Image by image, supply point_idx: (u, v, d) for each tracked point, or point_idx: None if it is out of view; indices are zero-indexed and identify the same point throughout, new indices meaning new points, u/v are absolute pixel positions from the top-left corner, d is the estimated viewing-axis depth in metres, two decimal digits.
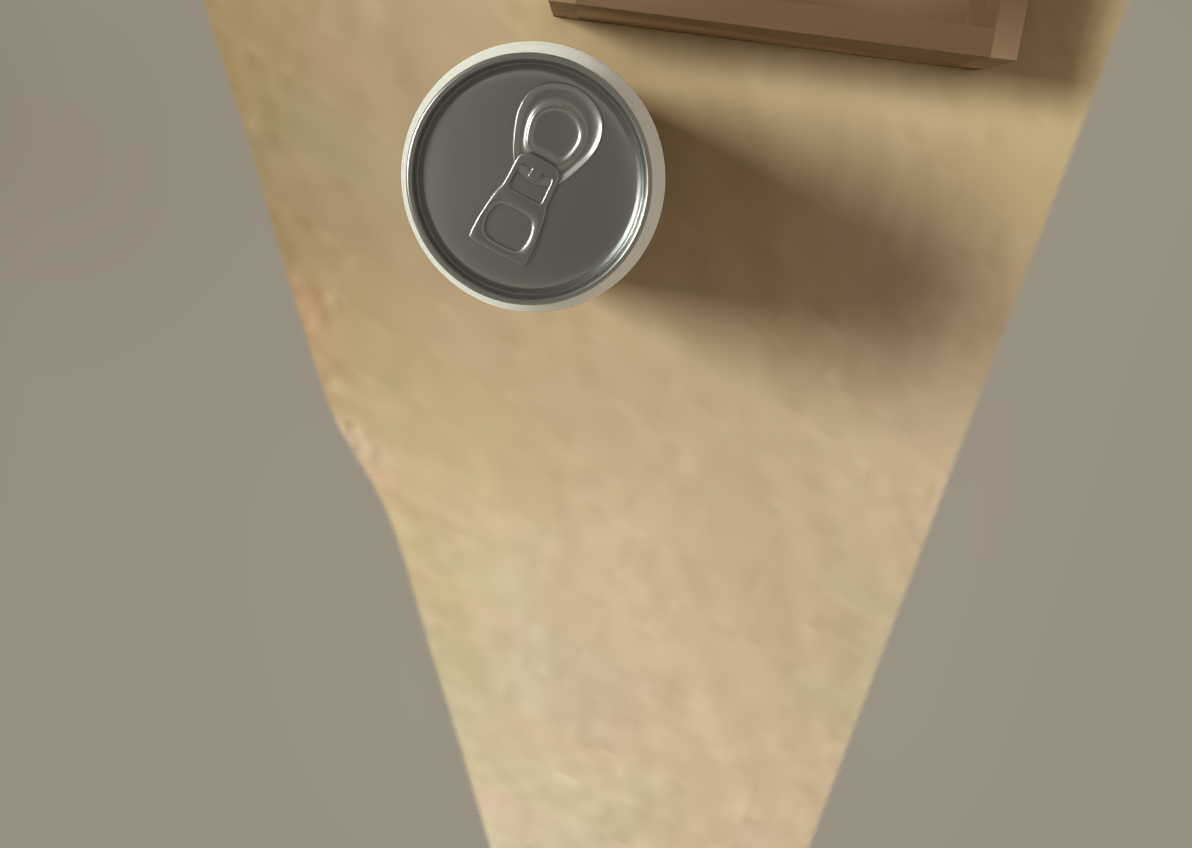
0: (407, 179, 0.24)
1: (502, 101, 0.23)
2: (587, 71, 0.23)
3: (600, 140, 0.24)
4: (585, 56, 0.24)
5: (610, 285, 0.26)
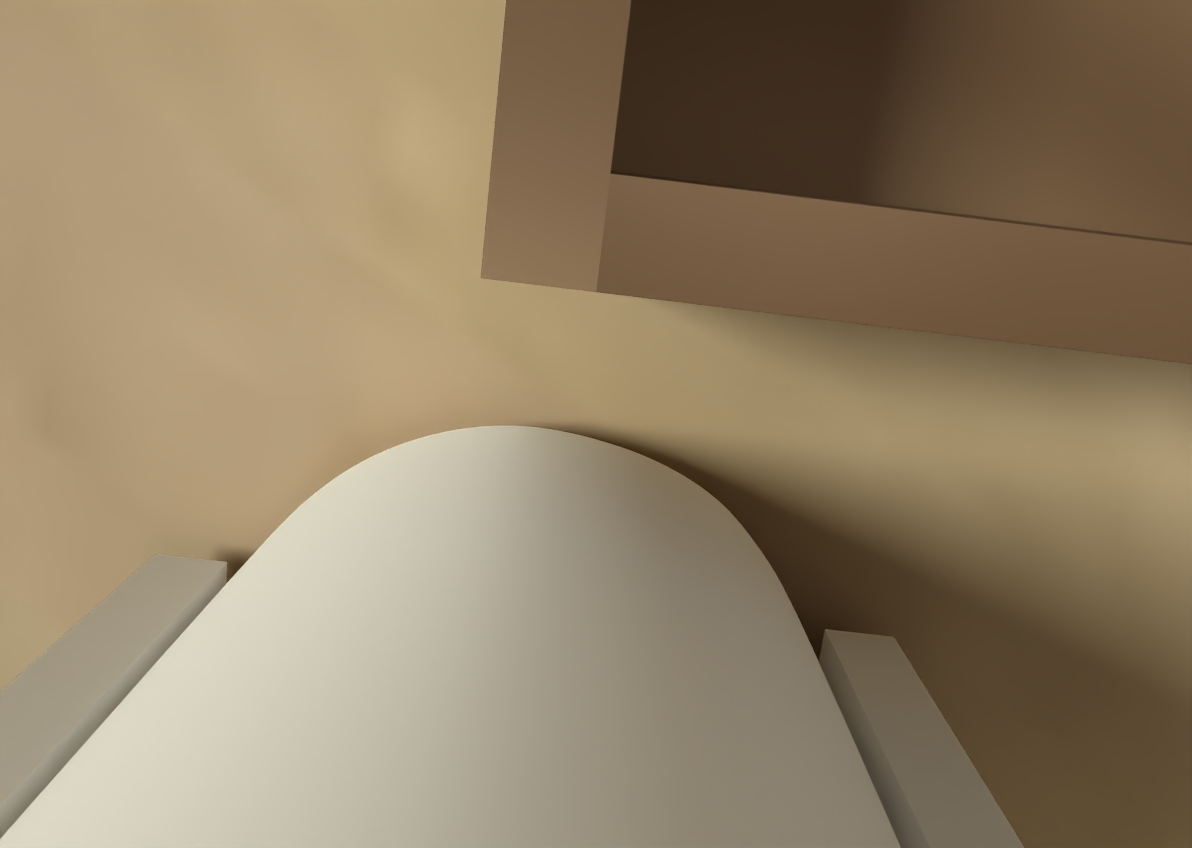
0: None
1: None
2: None
3: None
4: None
5: None
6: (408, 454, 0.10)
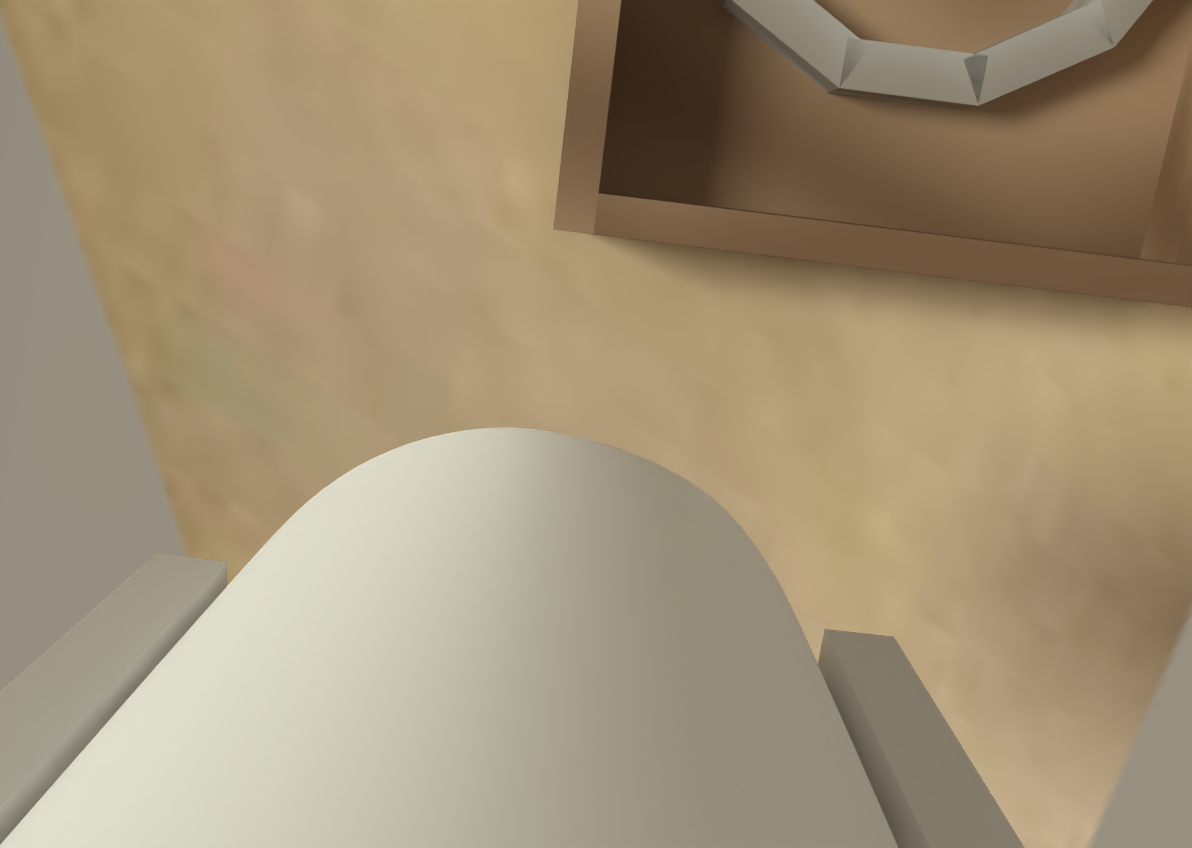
0: None
1: None
2: None
3: None
4: None
5: None
6: (408, 456, 0.10)
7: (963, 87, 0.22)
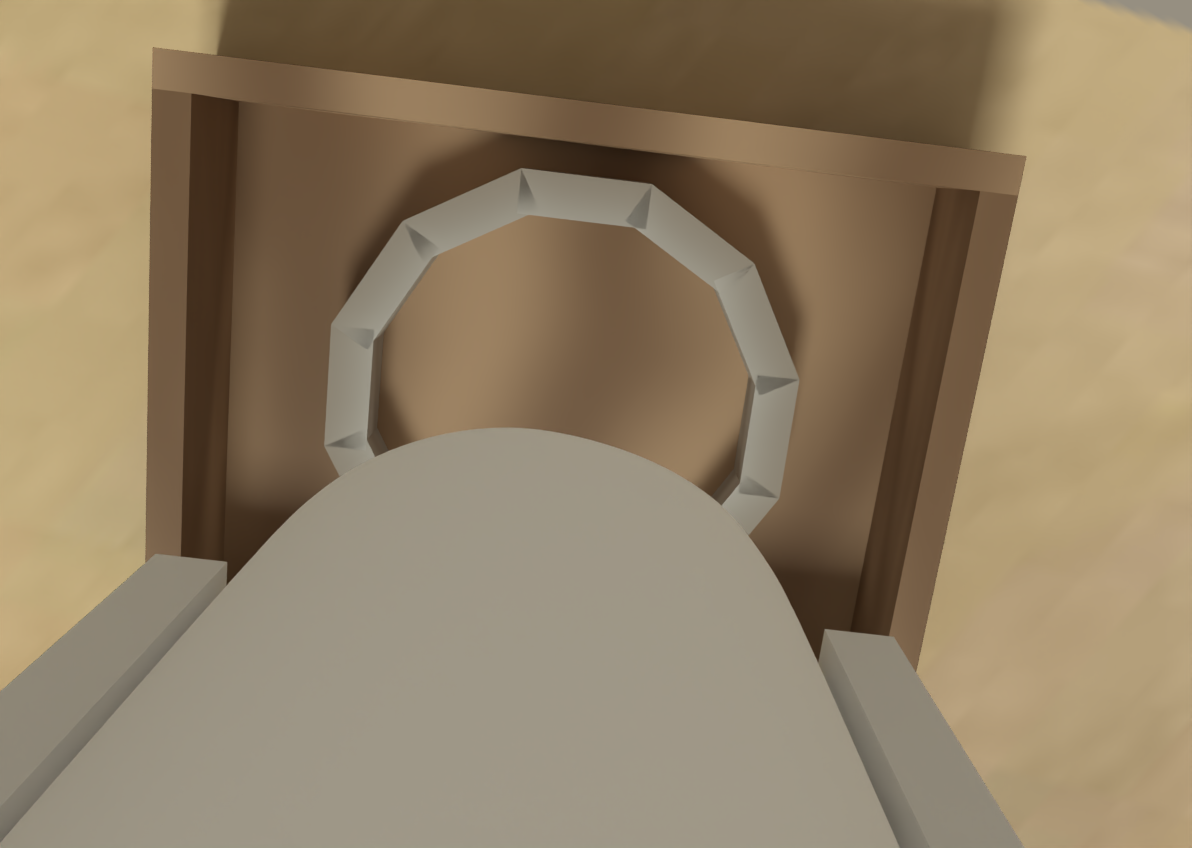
0: None
1: None
2: None
3: None
4: None
5: None
6: (408, 456, 0.10)
7: (783, 394, 0.24)
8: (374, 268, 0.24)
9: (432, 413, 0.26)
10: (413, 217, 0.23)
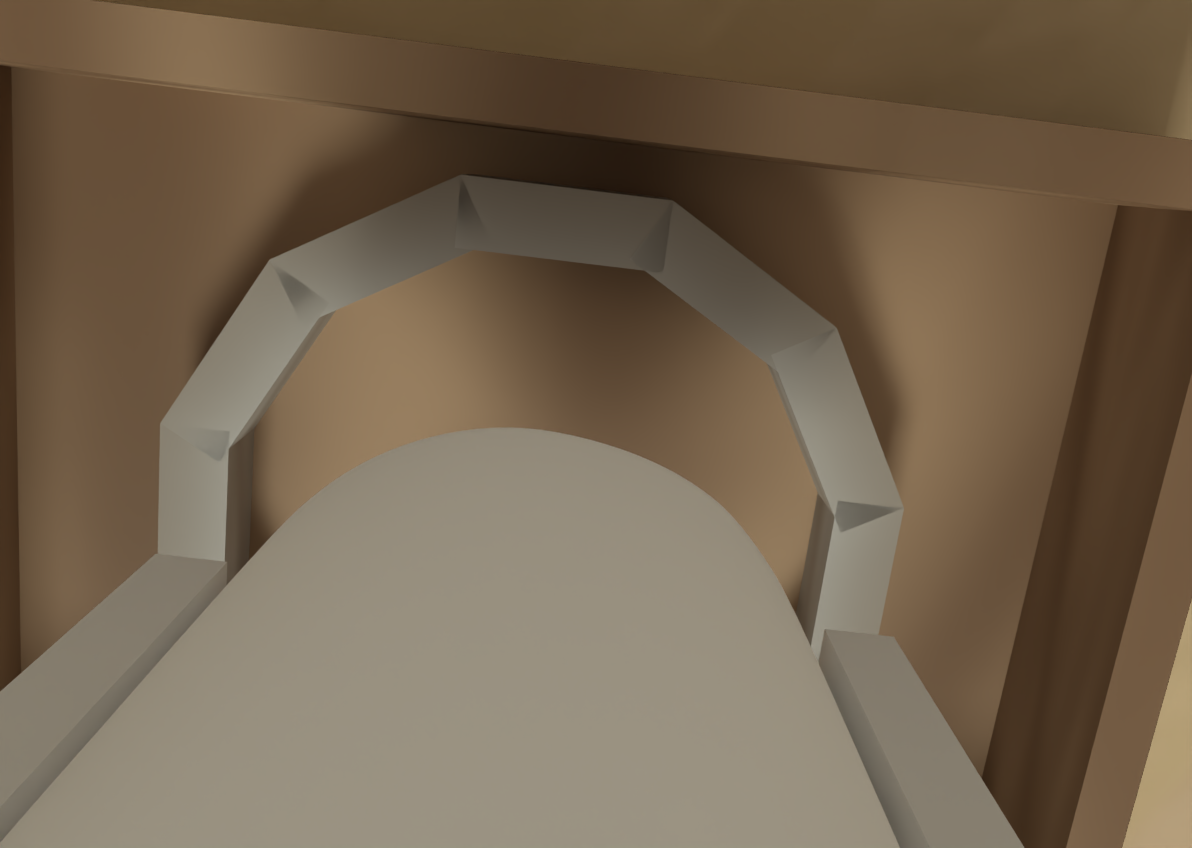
0: None
1: None
2: None
3: None
4: None
5: None
6: (408, 456, 0.10)
7: (878, 529, 0.16)
8: (226, 335, 0.15)
9: None
10: (286, 254, 0.15)
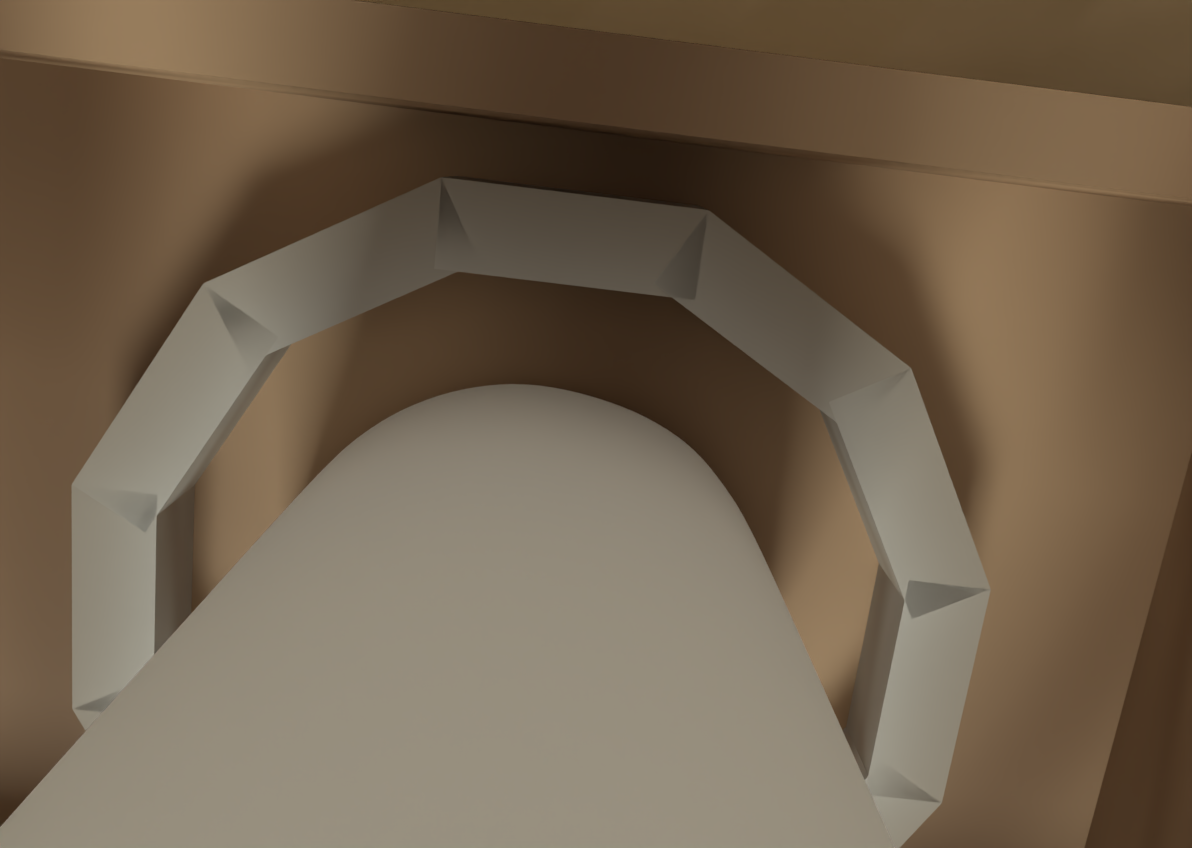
0: None
1: None
2: None
3: None
4: None
5: None
6: (431, 405, 0.12)
7: (958, 615, 0.13)
8: (151, 377, 0.12)
9: None
10: (224, 276, 0.12)
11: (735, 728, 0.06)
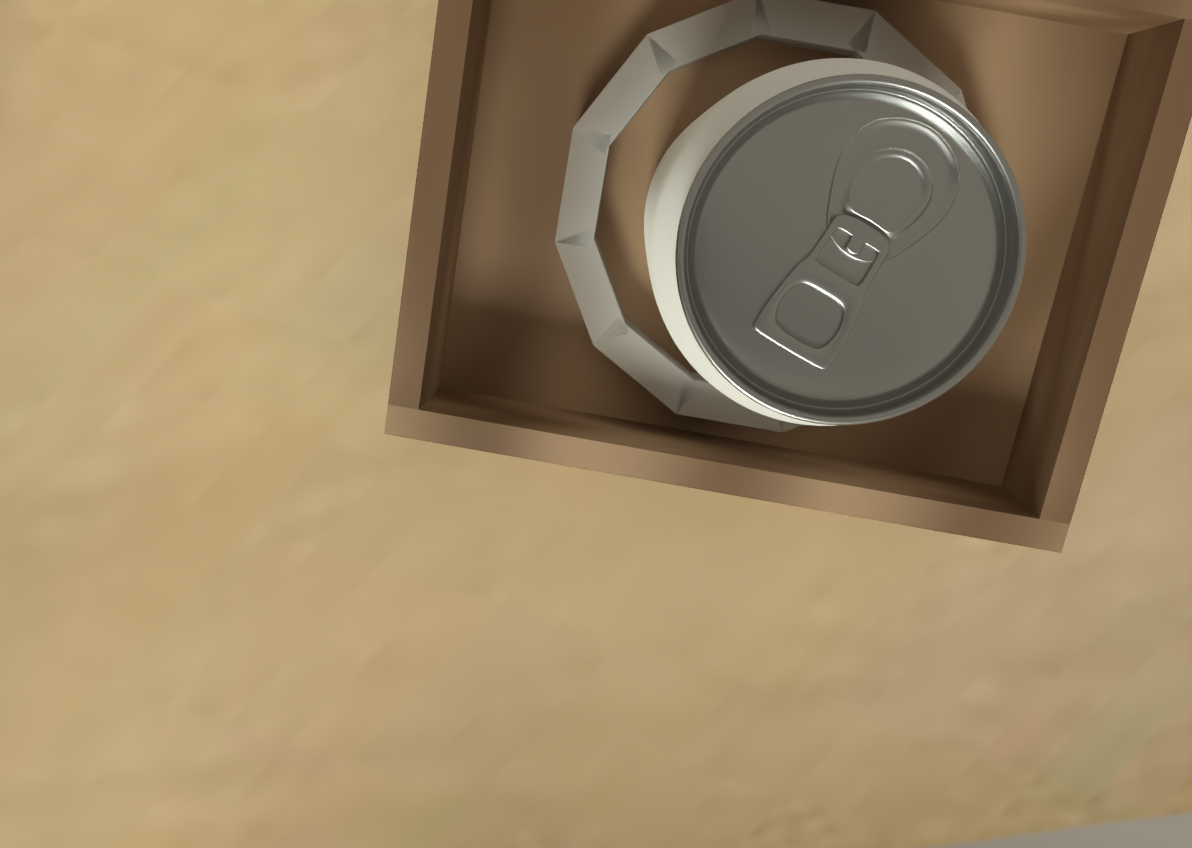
0: (678, 245, 0.17)
1: (818, 141, 0.17)
2: (951, 104, 0.16)
3: (953, 201, 0.17)
4: (927, 82, 0.17)
5: None
6: None
7: None
8: (617, 77, 0.26)
9: None
10: (657, 31, 0.26)
11: None
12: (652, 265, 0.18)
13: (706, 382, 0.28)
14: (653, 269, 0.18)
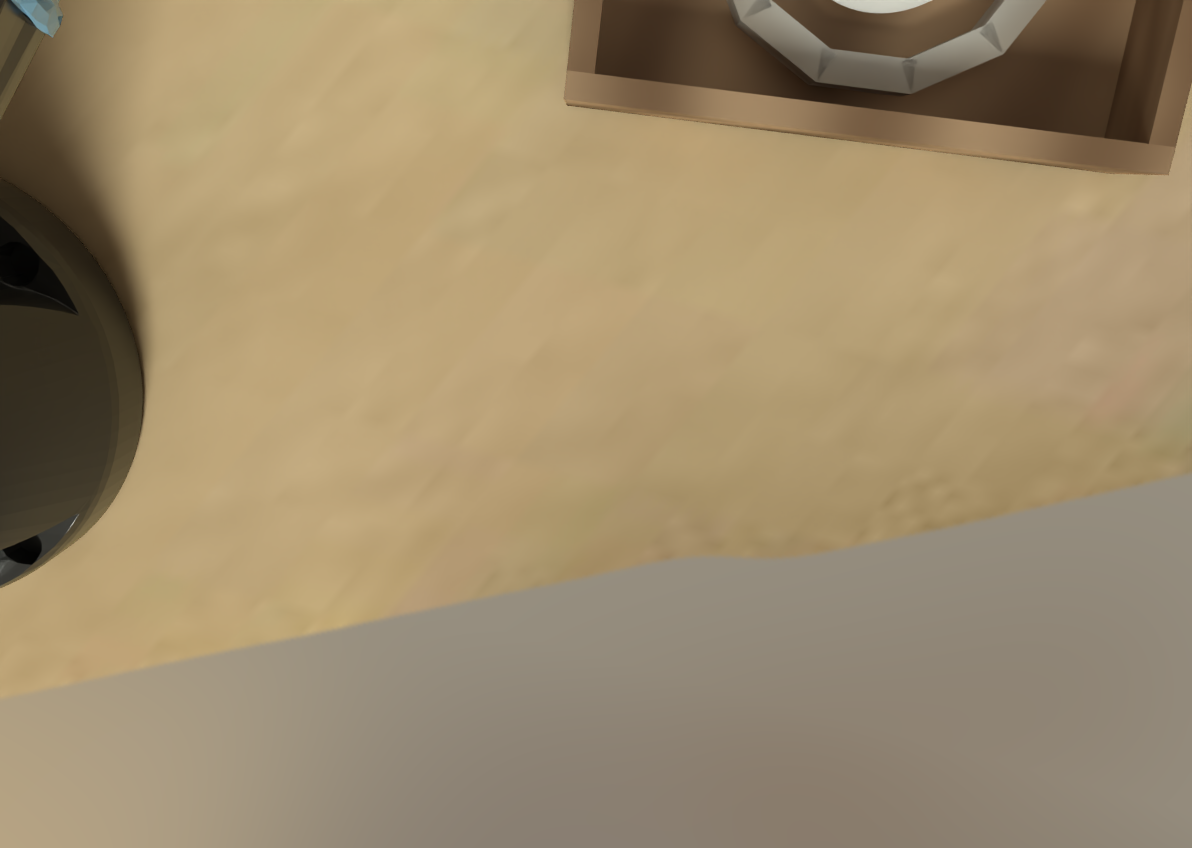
0: None
1: None
2: None
3: None
4: None
5: None
6: None
7: None
8: None
9: None
10: None
11: None
12: None
13: (842, 50, 0.32)
14: None
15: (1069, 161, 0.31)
